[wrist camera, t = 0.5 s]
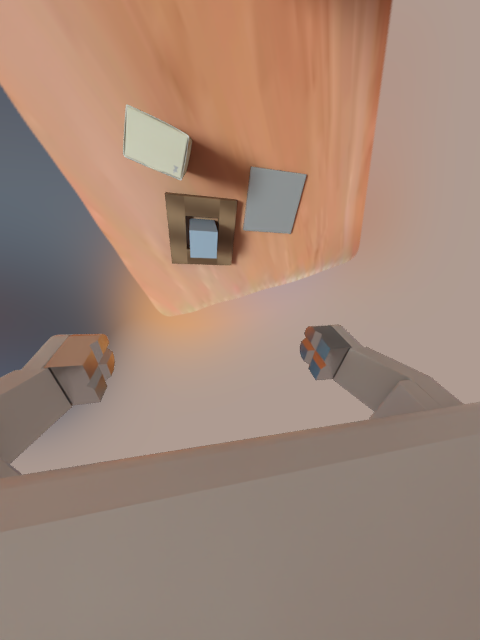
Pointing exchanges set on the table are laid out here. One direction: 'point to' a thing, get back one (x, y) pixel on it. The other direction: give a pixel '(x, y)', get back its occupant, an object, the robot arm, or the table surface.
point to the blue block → (203, 238)
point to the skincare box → (155, 143)
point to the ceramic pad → (272, 200)
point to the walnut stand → (200, 207)
